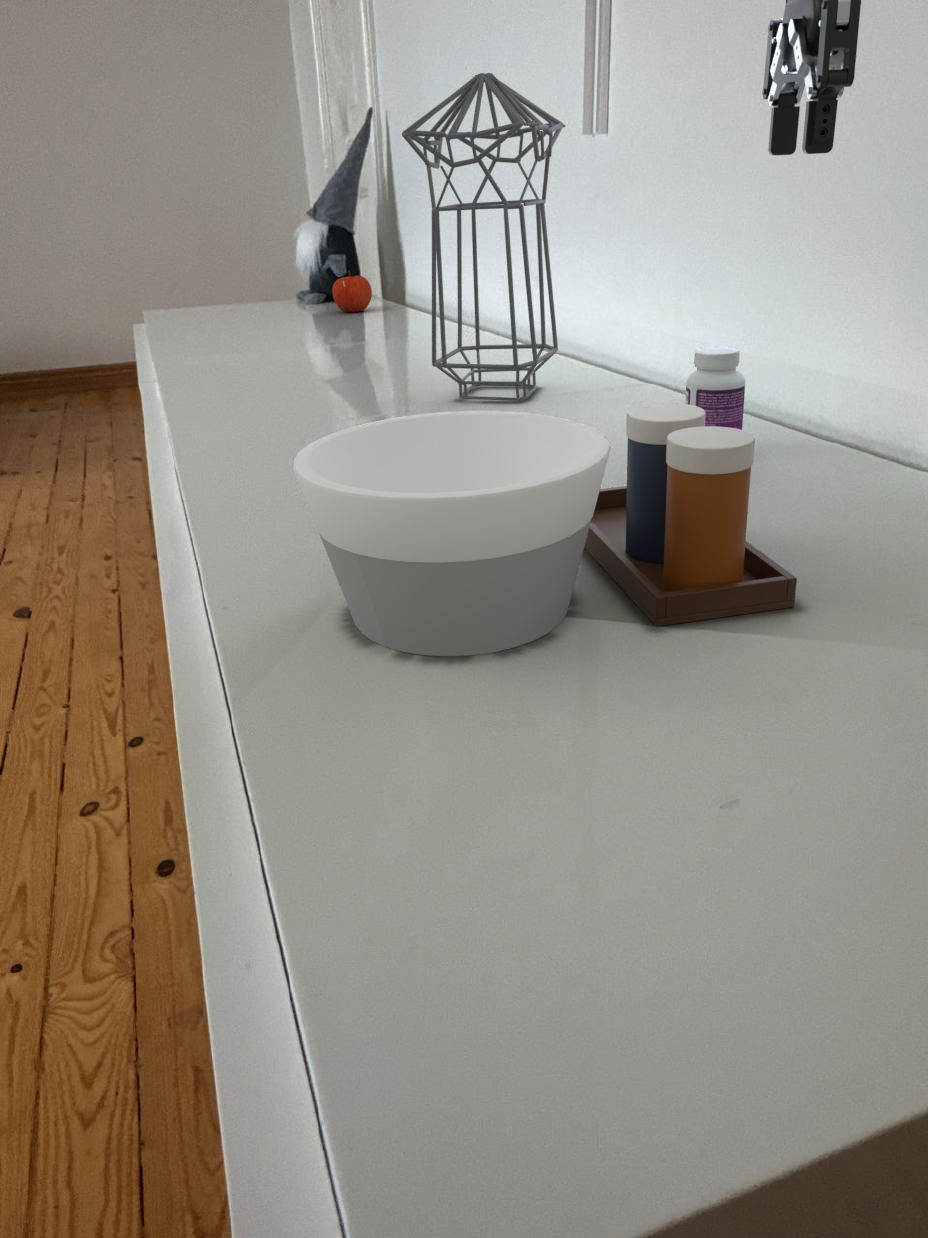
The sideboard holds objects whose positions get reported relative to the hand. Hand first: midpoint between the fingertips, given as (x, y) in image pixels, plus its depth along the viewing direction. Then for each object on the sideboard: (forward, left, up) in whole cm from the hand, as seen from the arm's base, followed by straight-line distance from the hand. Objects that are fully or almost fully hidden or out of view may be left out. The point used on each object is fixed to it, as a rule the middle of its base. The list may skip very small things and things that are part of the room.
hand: (798, 154), depth 80 cm
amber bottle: (+20, +28, -25) cm, 42 cm away
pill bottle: (+5, -2, -26) cm, 26 cm away
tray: (+20, +21, -26) cm, 38 cm away
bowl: (+35, +25, -26) cm, 50 cm away
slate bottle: (+20, +21, -25) cm, 38 cm away
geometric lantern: (+18, -36, -26) cm, 48 cm away
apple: (+27, -124, -26) cm, 130 cm away
